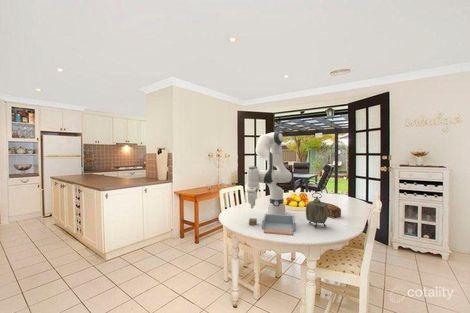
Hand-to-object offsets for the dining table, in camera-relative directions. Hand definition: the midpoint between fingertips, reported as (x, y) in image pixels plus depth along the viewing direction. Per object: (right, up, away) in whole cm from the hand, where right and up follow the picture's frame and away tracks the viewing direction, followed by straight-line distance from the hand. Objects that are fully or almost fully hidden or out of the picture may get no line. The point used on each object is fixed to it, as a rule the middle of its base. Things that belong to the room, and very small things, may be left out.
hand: (252, 206), depth 164 cm
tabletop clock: (+47, -14, -1) cm, 49 cm away
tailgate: (+16, -13, -13) cm, 25 cm away
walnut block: (0, -14, 0) cm, 14 cm away
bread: (+68, -14, +28) cm, 75 cm away
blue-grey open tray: (+18, -14, -4) cm, 24 cm away
